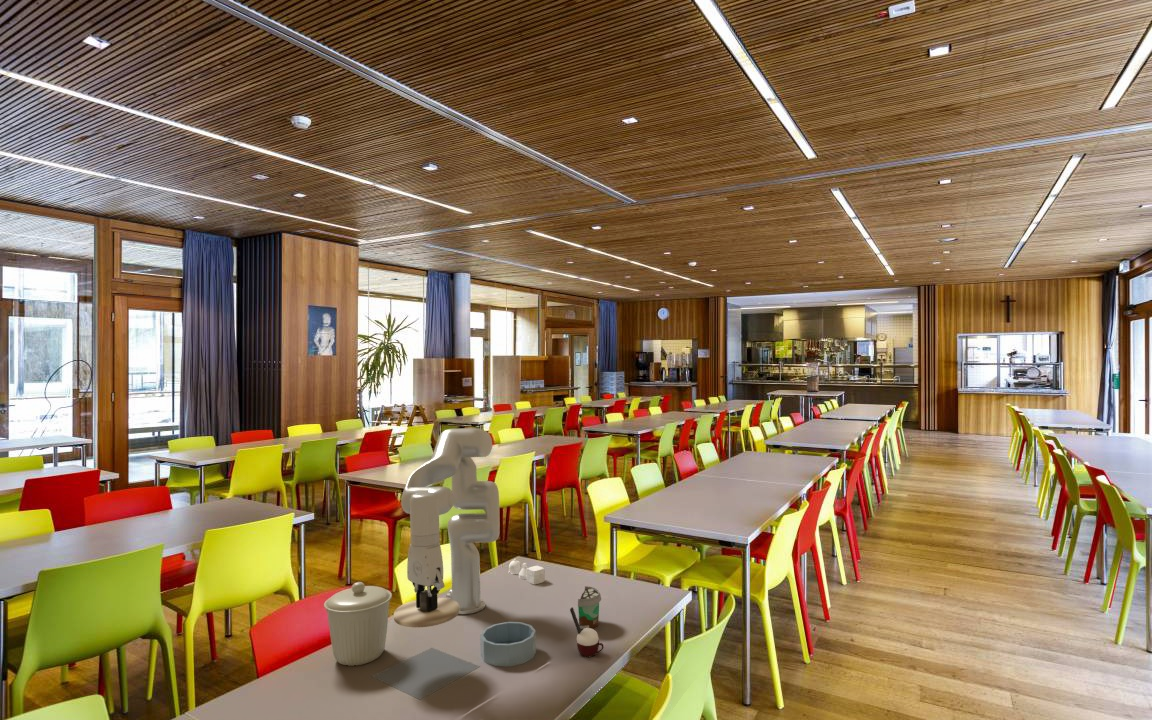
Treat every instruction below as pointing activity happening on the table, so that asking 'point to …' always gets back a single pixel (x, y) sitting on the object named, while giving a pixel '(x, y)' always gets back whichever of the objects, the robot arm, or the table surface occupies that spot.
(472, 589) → the robot arm
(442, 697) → the table surface
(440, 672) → the mat
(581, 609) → the food container
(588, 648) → the cocoa
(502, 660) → the bowl
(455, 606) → the lid
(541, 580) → the container set
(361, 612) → the canister
